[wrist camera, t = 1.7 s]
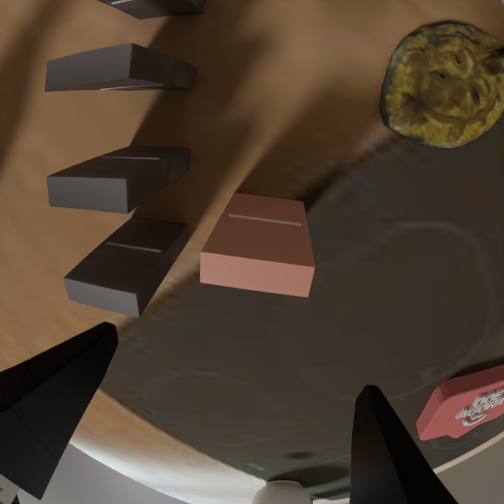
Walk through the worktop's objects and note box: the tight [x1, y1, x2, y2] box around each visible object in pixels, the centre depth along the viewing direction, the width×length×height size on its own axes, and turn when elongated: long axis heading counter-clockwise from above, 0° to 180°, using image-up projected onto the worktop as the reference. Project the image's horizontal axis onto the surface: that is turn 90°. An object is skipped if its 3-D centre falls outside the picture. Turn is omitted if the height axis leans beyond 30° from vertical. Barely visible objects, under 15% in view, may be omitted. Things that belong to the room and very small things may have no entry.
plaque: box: [416, 364, 504, 440], centre depth 30 cm, size 18×4×15 cm
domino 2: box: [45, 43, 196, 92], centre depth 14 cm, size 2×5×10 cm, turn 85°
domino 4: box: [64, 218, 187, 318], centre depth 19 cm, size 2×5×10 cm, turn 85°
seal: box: [380, 21, 504, 148], centre depth 14 cm, size 9×5×15 cm
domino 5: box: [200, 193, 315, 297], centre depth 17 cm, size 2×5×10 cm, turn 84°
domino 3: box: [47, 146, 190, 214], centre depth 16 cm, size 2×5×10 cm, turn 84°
